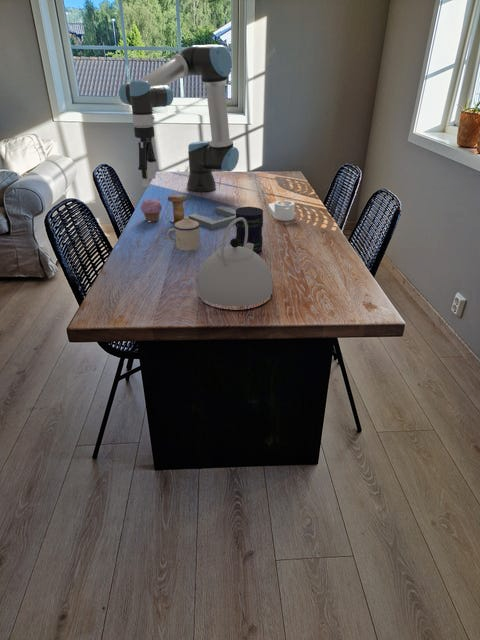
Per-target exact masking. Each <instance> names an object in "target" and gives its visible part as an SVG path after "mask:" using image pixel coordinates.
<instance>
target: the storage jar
mask: <svg viewBox="0 0 480 640" xmlns="http://www.w3.org/2000/svg"><path fill="white" fill-rule="evenodd" d="M235 210H236V218H235V219H237V218H239V217H243V218H244V219H245V220H246V221H247V225H248V238H247V243H252V244H254V247H253V252H255V253H256V254H258V255H260V254H262V252H263V249H262V248H263V243H264V242H263V241H264V239H263V228H264V209H262V208H260V207H255V206H242V207H238V208H236V209H235ZM234 225H235V227H236V228H235V229H236V236H235V238H236V239H238V240H239V246H241V247H243V246H244V240H245V224H244V222H243V220H239V221H237V222H236V223H235V224H234Z"/></svg>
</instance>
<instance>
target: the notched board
mask: <svg viewBox="0 0 480 640" xmlns="http://www.w3.org/2000/svg"><path fill="white" fill-rule="evenodd" d="M215 213H216V214H219V215H222V216H225V217H224V218H222V219H219V220H215V219H212V218H210V217H206V216H203V215H200V214H198V213H192V214H189V215H187V217H189V219H191V220H194V221H197V222H198V223H199V225H201V227H202V226H203V227H204V228H206V229H210V230H212V231H213V230H215V229H220V228H223V227H226V226H229V224H230V223H231V222H232V221H234V220H235V218H236V209H233V208H230V207H226V206H223V205H221V206H220V205H219V206H216V207H215Z"/></svg>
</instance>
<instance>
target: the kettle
mask: <svg viewBox="0 0 480 640" xmlns="http://www.w3.org/2000/svg"><path fill="white" fill-rule="evenodd" d="M239 220H243V222H244V224H245V240H244V246H243V247H241V246H239V240H238V239H236V237H233V238H231V240H230V243H229V245H230V246H225V245H226V239H227V237H228V234H229V232H230V230H231V228H232V227H233V225H235V223H236V222H237V221H239ZM247 238H248V225H247V221H246V220H245V219H244V218H243V217H239V218H237V219H235V220H234V221H232V222H231V223H230V224H229V225H227V227H226V229H225V232H224V234H223V236H222V241H221V248H220V249H218V250H217V251H215V252H214V253H212V254H211V255H210V256H209V257H208V258H207V259H206V260H205V261H204V263H203V265H202V266H201V268H200V271H199V274H198V279H197V294H198V293H199V295H200V296H201V297H202V298H203V299H204V300H206V301H208V302H210V303H213V304H217V305H222V306H249V305H254V304H258V303H260V302H262V301H264V300H266V299H267V298H269V297H270V296H271V294H272V295H273V277H272V274H271V270H270V268H269V267H268V265H267V262H266V261H265V260H264V259H263V258H262V257H261V255H260V254H256V253H255V252H253V247H254V244H252V243H247Z"/></svg>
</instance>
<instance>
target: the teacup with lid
mask: <svg viewBox="0 0 480 640" xmlns="http://www.w3.org/2000/svg"><path fill="white" fill-rule="evenodd" d="M173 226H174V228H173V227H172V228H170V229H168V230H167V232H166V236H167V238H168V239H169V240H170V242H174V243H176V249H177V248H179V249H182V250H194V251H196V250H195V249H197V250H199V249H200V248H201V247H200V246H201V245H200V244H201V243H200V242H201V241H200V240H201V239H200V224H199V223H198V222H197V221H194V220H191V219H189V217H188V215H187V216H184V219H183V220H181V221H178V222H176V223H175V224H173ZM170 232H175V238H172V237H171V236H170ZM198 248H199V249H198ZM179 249H178V250H179Z"/></svg>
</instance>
